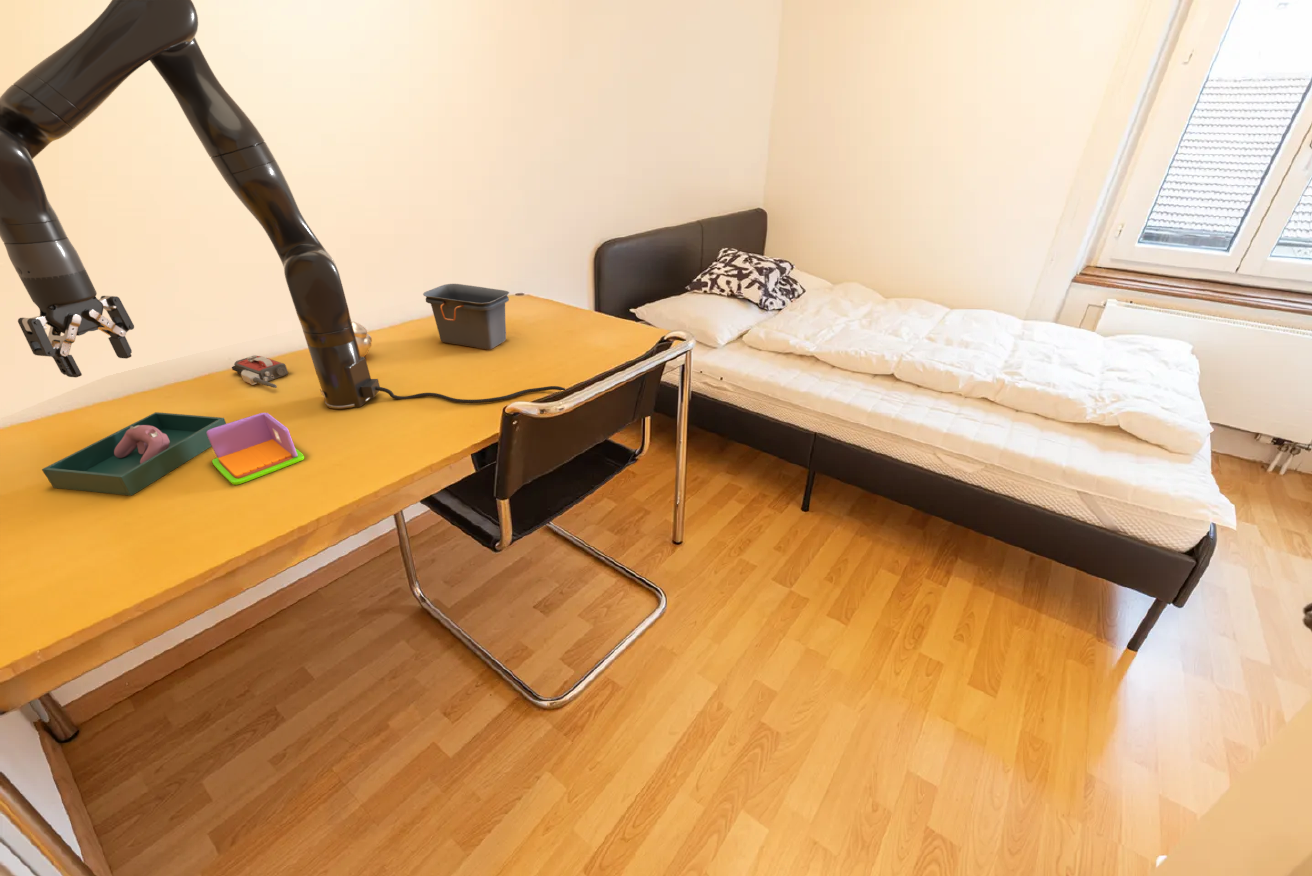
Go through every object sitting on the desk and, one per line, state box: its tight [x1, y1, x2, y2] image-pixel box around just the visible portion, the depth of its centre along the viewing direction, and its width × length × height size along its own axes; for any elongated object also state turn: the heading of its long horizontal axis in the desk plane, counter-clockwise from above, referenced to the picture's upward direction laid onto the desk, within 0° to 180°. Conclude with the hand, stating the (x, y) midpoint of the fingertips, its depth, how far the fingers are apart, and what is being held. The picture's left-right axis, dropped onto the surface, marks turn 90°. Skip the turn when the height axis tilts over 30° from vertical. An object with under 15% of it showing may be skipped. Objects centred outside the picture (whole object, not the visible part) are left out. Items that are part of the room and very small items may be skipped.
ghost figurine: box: [351, 321, 373, 357], centre depth 145 cm, size 9×10×10 cm
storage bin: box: [422, 283, 510, 351], centre depth 155 cm, size 21×16×14 cm
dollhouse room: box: [207, 412, 305, 486], centre depth 102 cm, size 12×12×7 cm
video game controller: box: [114, 425, 170, 464], centre depth 103 cm, size 10×5×7 cm, turn 65°
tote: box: [41, 411, 227, 497], centre depth 103 cm, size 15×21×4 cm
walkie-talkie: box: [231, 354, 289, 389], centre depth 135 cm, size 9×4×20 cm
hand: (101, 366), depth 95 cm, fingers open, 8 cm apart
